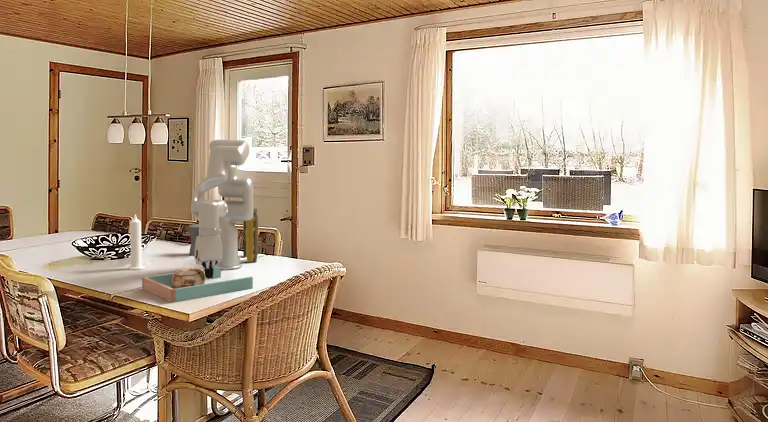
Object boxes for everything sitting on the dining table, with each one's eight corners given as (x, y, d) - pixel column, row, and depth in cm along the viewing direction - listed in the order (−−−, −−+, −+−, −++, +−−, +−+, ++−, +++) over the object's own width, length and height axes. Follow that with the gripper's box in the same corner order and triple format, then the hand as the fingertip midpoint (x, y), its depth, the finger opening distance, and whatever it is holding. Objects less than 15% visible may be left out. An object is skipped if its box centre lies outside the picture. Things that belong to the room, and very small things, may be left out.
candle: (138, 270, 246) (137, 215, 243) (124, 269, 247) (123, 214, 245) (148, 267, 253) (147, 213, 250) (134, 266, 254) (133, 213, 252)
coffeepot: (185, 253, 291) (184, 219, 289) (202, 251, 296) (202, 218, 295) (194, 257, 279) (194, 222, 277) (212, 256, 284) (212, 221, 282)
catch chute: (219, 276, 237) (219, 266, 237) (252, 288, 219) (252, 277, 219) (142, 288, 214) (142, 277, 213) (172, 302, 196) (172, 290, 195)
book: (258, 262, 270) (258, 212, 268) (240, 263, 269) (241, 212, 266) (259, 254, 292) (259, 208, 289) (242, 254, 290) (242, 208, 288)
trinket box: (173, 292, 209) (172, 272, 209) (169, 284, 223) (169, 265, 222) (209, 289, 215) (209, 270, 214) (204, 281, 229) (203, 263, 228)
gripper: (221, 230, 225) (221, 273, 227) (186, 232, 215) (186, 278, 217) (230, 232, 220) (230, 276, 222) (195, 235, 210) (196, 282, 211)
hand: (209, 277), depth 219 cm, fingers closed
